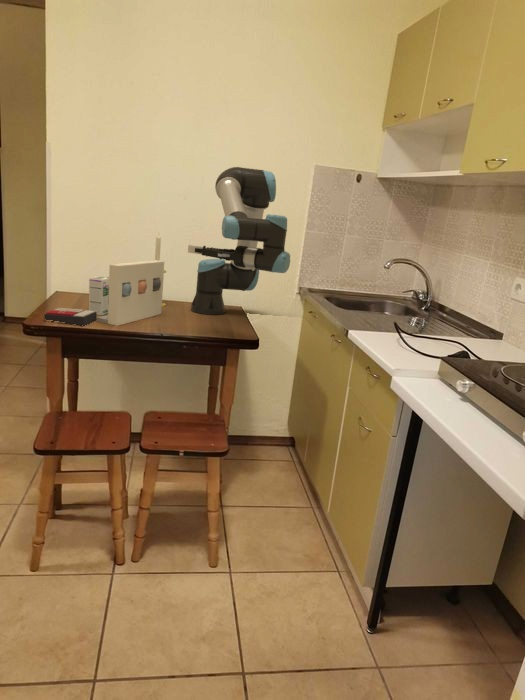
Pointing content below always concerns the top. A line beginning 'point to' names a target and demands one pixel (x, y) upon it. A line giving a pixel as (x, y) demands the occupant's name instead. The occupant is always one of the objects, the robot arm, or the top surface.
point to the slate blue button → (126, 289)
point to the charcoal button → (156, 284)
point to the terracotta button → (142, 286)
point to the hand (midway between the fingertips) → (189, 248)
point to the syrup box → (99, 295)
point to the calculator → (71, 316)
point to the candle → (158, 253)
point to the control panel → (133, 292)
